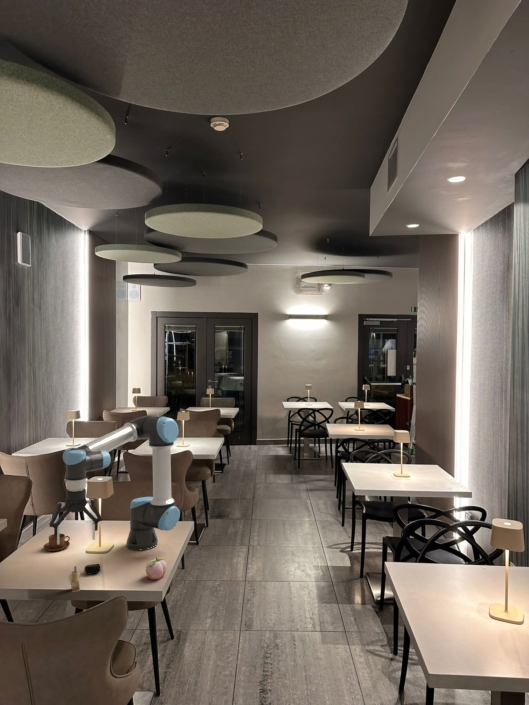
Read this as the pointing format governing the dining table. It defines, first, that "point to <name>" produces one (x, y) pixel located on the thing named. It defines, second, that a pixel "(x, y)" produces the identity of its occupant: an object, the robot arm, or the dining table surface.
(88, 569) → the tape measure
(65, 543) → the cup and saucer
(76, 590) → the joist strip
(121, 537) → the dining table surface
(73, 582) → the beige bottle
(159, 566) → the decorative fruit
